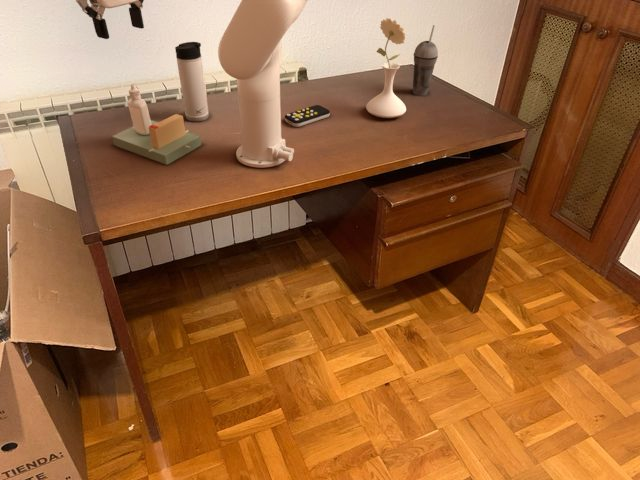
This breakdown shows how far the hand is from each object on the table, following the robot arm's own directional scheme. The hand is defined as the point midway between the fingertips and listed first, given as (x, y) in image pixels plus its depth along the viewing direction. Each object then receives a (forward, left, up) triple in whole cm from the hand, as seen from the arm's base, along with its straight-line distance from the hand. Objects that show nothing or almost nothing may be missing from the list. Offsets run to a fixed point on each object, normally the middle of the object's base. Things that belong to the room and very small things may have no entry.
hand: (121, 32), depth 108 cm
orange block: (-9, 0, -24) cm, 25 cm away
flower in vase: (-44, -50, -26) cm, 71 cm away
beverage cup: (-47, -70, -26) cm, 88 cm away
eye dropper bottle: (0, 0, -24) cm, 24 cm away
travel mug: (-2, -18, -26) cm, 32 cm away
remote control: (-27, -34, -26) cm, 51 cm away
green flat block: (-6, 0, -26) cm, 27 cm away
